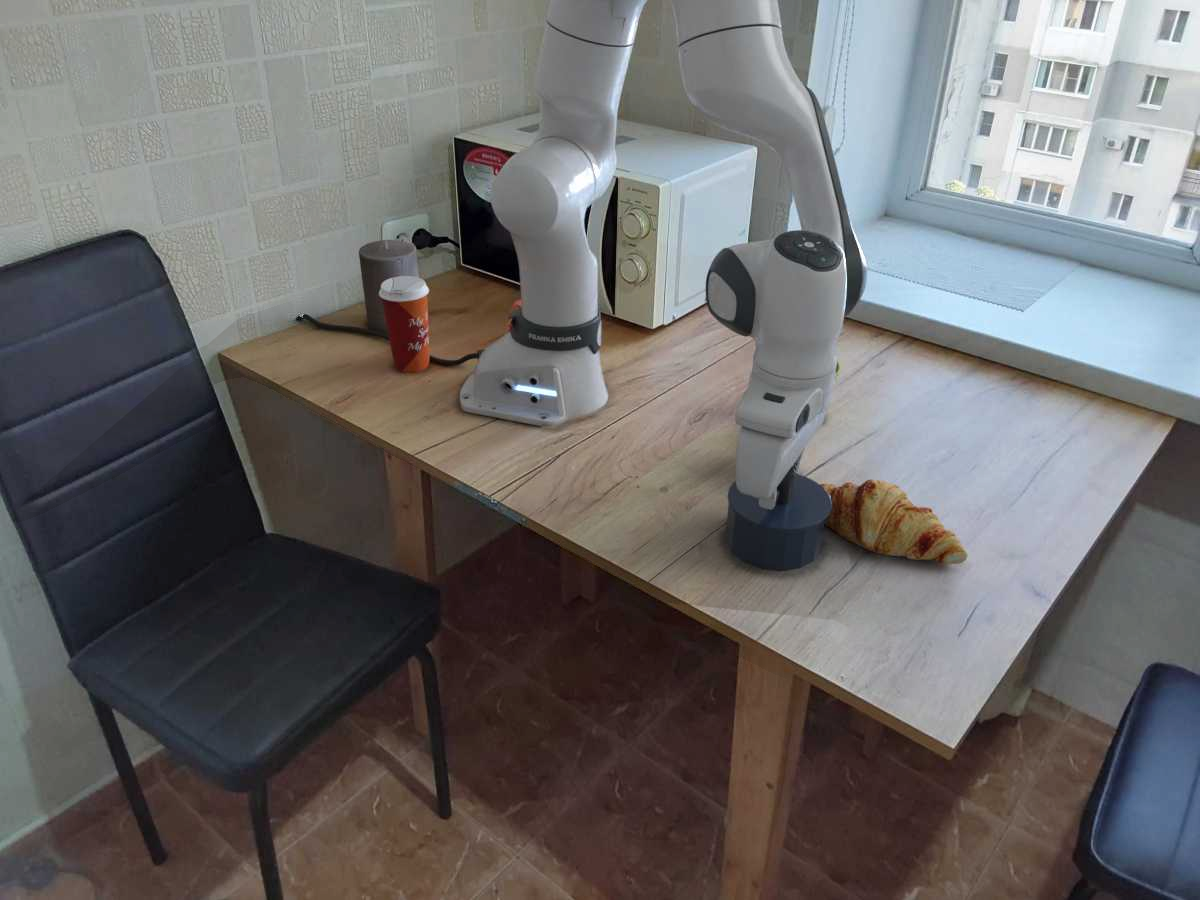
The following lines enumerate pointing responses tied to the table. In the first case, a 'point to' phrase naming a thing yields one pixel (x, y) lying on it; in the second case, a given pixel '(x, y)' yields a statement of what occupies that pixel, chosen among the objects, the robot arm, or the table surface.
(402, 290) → the paper cup
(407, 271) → the pillar candle
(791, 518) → the lid
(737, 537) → the pot
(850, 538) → the croissant
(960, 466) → the table surface
